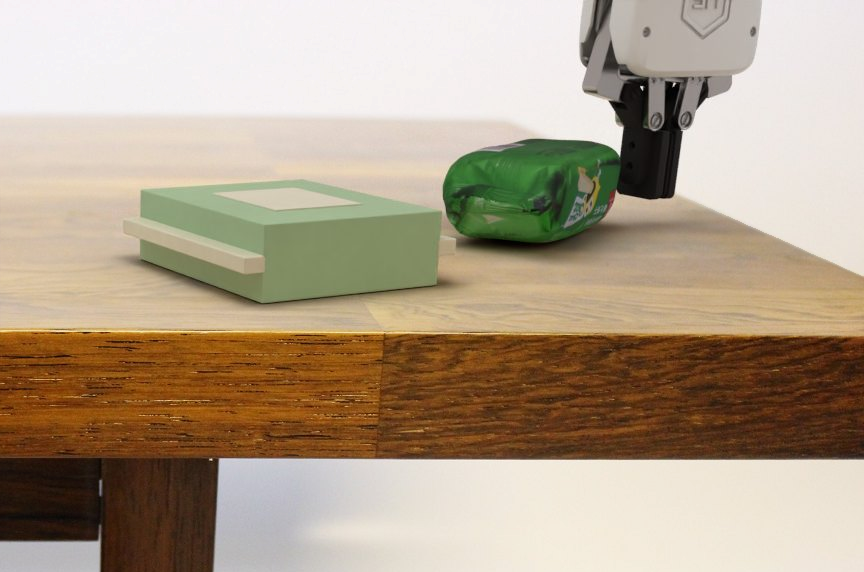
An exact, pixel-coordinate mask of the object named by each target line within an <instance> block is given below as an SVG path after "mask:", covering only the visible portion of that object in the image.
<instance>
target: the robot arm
mask: <svg viewBox="0 0 864 572" xmlns="http://www.w3.org/2000/svg"><path fill="white" fill-rule="evenodd" d="M762 5H763V0H583V1H582V8H581V15H580V25H579V38H578V54H579V55H578V56H579V60H580V62H581V64H582V65H583V66H584V67H585V68H586V69H585V74H584V76H583V80H582V84H581V85H582V86H581V87H582V88H581V89H582V91H583V93H584V94H586V95H589V96H592V97H594V98H599V99H601V100H603V101H604V100H606V101H608V103H609V105H610V106H611V108H612V110H613V111H614V122H615V124H616V125H617V126H618V127H620V128H622V134H621V135H622V137H621V145H620V151H619V152H620V154H619V156H620V161H621V167H620V173H619V179H618V184H617V189H616V193H618V194H619V195H622V196H628V197H633V198H638V199H642V200H647V201H648V200H649V201H654V200H659V199H660V200H667V199H670V200H671V199H672V198H674V196H675V194H676V186H677V179H678V173H679V172H678V171H679V166H680V165H679V164H680V157H681V149H682V143H683V142H682V141H683V135H684V131H687V130H689V129H690V128H691V127H692V126H693V124H694V120H695V117H696V111H697V110H698V109H699V108H700V107H701V105H703V103H704V102H705V101H706V99H710V98H713V97H716V96H719V95H722V94H724V93H727V92H729V91H730V89H731V88H732V85H733V76H735V75H739V74H741V73H743V72H746V71H747V70H748V69H749V68H750V67H751V65H753V62H754V60H755V56H756V54H757V53H756V52H757V47H758V40H759V33H760V25H761V18H762Z"/></svg>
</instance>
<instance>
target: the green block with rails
mask: <svg viewBox="0 0 864 572" xmlns="http://www.w3.org/2000/svg"><path fill="white" fill-rule="evenodd" d="M139 200H140V202H139V204H140V209H139V213H140V215H139V216H131V217H123V219H122V224H123V225H122V233H123V234H125V235H127V236H131V237H134V238H137V239H139V259H140V260H142V261H145V262H147V263H150V264H153V265H156V266H159V267H161V268H164V269H167V270H170V271H172V272H175V273H177V274H181V275H183V276H186V277H189V278H192V279H194V280H196V281H200V282H203V283H205V284H208V285H211V286H213V287H216V288H219V289H222V290H225V291H227V292H230V293H233V294H234V295H235V294H236V295H238V296H241V297H244V298H246V299H249V300H252V301H254V302H257V303H260V304H270V303H278V302H279V303H280V302H289V301H298V300H308V299H316V298H317V299H318V298H327V297H335V296H336V297H337V296H345V295H346V296H347V295H354V294H355V295H356V294H364V293H375V292H382V291H393V290H402V289H410V288H411V289H412V288H422V287H429V286H430V287H431V286H437V284H438V272H439V271H438V270H439V259H440V258H439V257H445V256H455V255H456V248H457V238H455V237H451V236H447V235H445V234H444V235H443V234H441V232H442V231H441V230H442V219H443V211H442V210H440V209H436V208H432V207H427V206H423V205H419V204H414V203H409V202H405V201H401V200H395V199H392V198H387V197H383V196H379V195H373V194H369V193H365V192H360V191H356V190H352V189H347V188H343V187H339V186H335V185H329V184H326V183H321V182H316V181H312V180H307V179H303V178H302V179H287V180H271V181H269V180H268V181H254V182H253V181H252V182H237V183H222V184H221V183H220V184H207V185H188V186H175V187H172V186H171V187H157V188H141V189H140V199H139Z"/></svg>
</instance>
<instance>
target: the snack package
mask: <svg viewBox="0 0 864 572" xmlns="http://www.w3.org/2000/svg"><path fill="white" fill-rule="evenodd" d="M620 167H621V161H620V154H618V152H617V151H616V150H615V149H614V148H612V147H611V146H610V145H607V144H605V143H601V142H596V141H592V140H581V139H556V138H555V139H552V138H526V139H522V140H518V141H514V142H510V143H506V144H499V145H491V146H485V147H482V148H479V149H477V150H473V151H471V152H468V153H465V154H464V155H462V156H460V157H459V158H458V159H456V160H455V161H454V162H453V163H452V164H451V165H450V167H449V168H448V169H447V172H446V174H445V178H444V180H443V182H442V200H443V204H444V208H445V214H446V218H447V219H448V222H449V223H450V224H451V225H452V226H453V228H454V229H455V230H456V231H457V232H458V233H459V234H460V235H462V236H465V237H467V238H476V239H477V238H478V239H490V240H491V239H492V240H493V239H494V240H503V241H504V240H505V241H513V242H521V243H522V242H523V243H531V244H533V243H534V244H542V243H544V244H545V243H550V242H556V241H559V240H563V239H566V238H569V237H571V236H573V235H577V234H579V233H581V232H583V231H584V230H586V229H588V228H591V227H593V226H595V225H596V224H598V223H599V222H601V221H602V220H604V219H605V217H606V216H607V215H608V213H609V212H610V210H611V209H612V207H613V204H614V202H615V199H616V194H617V190H616V189H617V184H618V179H619V173H620Z"/></svg>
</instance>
